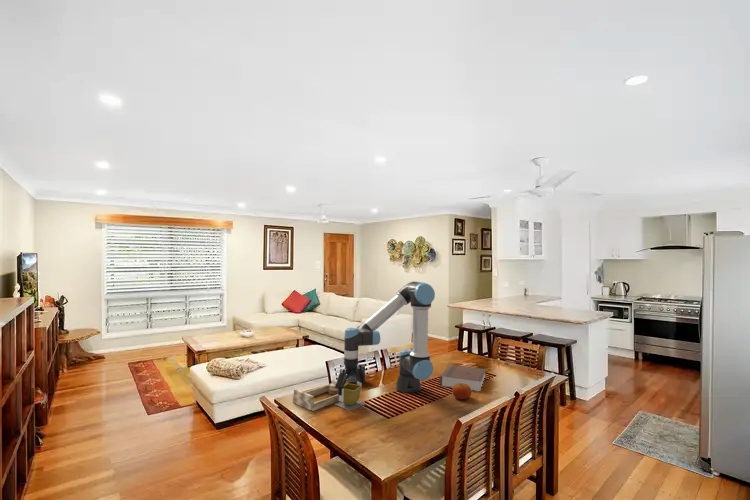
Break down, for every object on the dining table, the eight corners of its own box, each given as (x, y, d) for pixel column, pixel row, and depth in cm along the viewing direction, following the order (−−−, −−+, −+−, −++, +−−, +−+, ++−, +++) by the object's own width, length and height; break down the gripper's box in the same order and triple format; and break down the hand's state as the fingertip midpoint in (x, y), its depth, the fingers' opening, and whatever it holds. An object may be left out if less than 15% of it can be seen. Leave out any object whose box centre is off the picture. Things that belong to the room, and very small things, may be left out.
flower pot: (361, 402, 204) (361, 385, 204) (354, 408, 196) (354, 390, 196) (346, 399, 208) (347, 383, 208) (339, 405, 199) (339, 388, 200)
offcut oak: (348, 389, 218) (348, 384, 218) (346, 391, 214) (346, 387, 214) (331, 387, 220) (331, 383, 220) (329, 390, 216) (329, 385, 216)
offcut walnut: (349, 395, 216) (349, 390, 216) (346, 397, 213) (346, 392, 213) (331, 391, 221) (331, 386, 221) (328, 394, 218) (328, 388, 218)
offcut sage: (345, 386, 216) (345, 382, 216) (339, 387, 213) (340, 383, 213) (338, 382, 221) (338, 379, 221) (333, 384, 219) (333, 380, 219)
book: (440, 386, 234) (440, 376, 234) (448, 374, 260) (449, 364, 260) (480, 392, 225) (481, 381, 225) (485, 379, 251) (485, 369, 251)
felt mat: (366, 404, 202) (366, 403, 202) (350, 411, 193) (350, 410, 193) (349, 398, 210) (349, 397, 210) (334, 404, 201) (334, 404, 201)
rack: (354, 395, 215) (354, 383, 215) (312, 411, 192) (313, 397, 192) (334, 388, 226) (334, 376, 226) (292, 402, 203) (293, 389, 203)
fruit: (458, 393, 222) (459, 379, 222) (474, 398, 214) (474, 384, 214) (448, 398, 214) (448, 383, 214) (464, 403, 207) (464, 388, 207)
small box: (365, 380, 241) (365, 364, 242) (363, 384, 235) (364, 367, 235) (348, 379, 242) (349, 363, 243) (347, 383, 236) (347, 366, 236)
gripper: (361, 352, 214) (361, 389, 214) (328, 360, 195) (328, 402, 195) (371, 354, 209) (371, 393, 209) (339, 363, 190) (338, 406, 190)
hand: (350, 397), depth 202 cm, fingers open, 13 cm apart
